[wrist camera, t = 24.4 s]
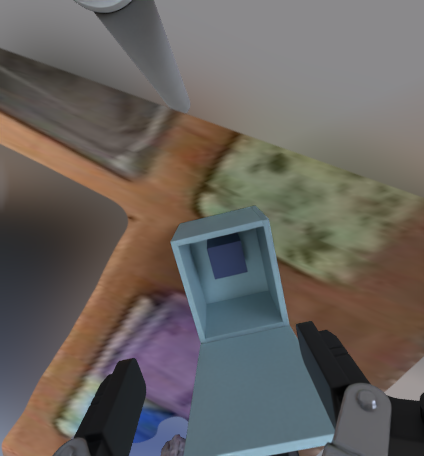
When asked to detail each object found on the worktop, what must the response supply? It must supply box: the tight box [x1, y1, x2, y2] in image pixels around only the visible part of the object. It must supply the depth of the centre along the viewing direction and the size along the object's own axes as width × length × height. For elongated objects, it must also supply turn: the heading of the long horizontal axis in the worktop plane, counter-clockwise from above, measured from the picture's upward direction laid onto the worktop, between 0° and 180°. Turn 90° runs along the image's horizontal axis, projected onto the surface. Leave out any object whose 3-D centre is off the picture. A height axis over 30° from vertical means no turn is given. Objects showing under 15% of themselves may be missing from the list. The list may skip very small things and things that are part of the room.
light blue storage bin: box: [170, 206, 289, 344], centre depth 39 cm, size 16×13×10 cm
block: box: [207, 232, 248, 279], centre depth 40 cm, size 5×5×5 cm
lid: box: [183, 326, 335, 456], centre depth 27 cm, size 16×13×5 cm
